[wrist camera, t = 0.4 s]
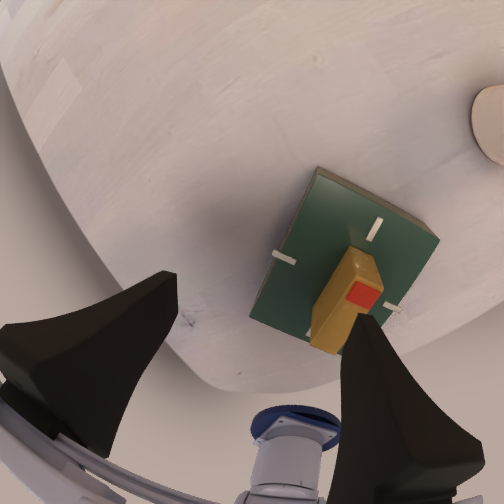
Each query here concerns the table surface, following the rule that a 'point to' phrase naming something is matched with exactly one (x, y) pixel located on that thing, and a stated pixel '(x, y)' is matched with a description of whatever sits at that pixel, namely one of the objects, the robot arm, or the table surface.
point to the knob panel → (340, 252)
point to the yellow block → (344, 300)
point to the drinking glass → (490, 122)
